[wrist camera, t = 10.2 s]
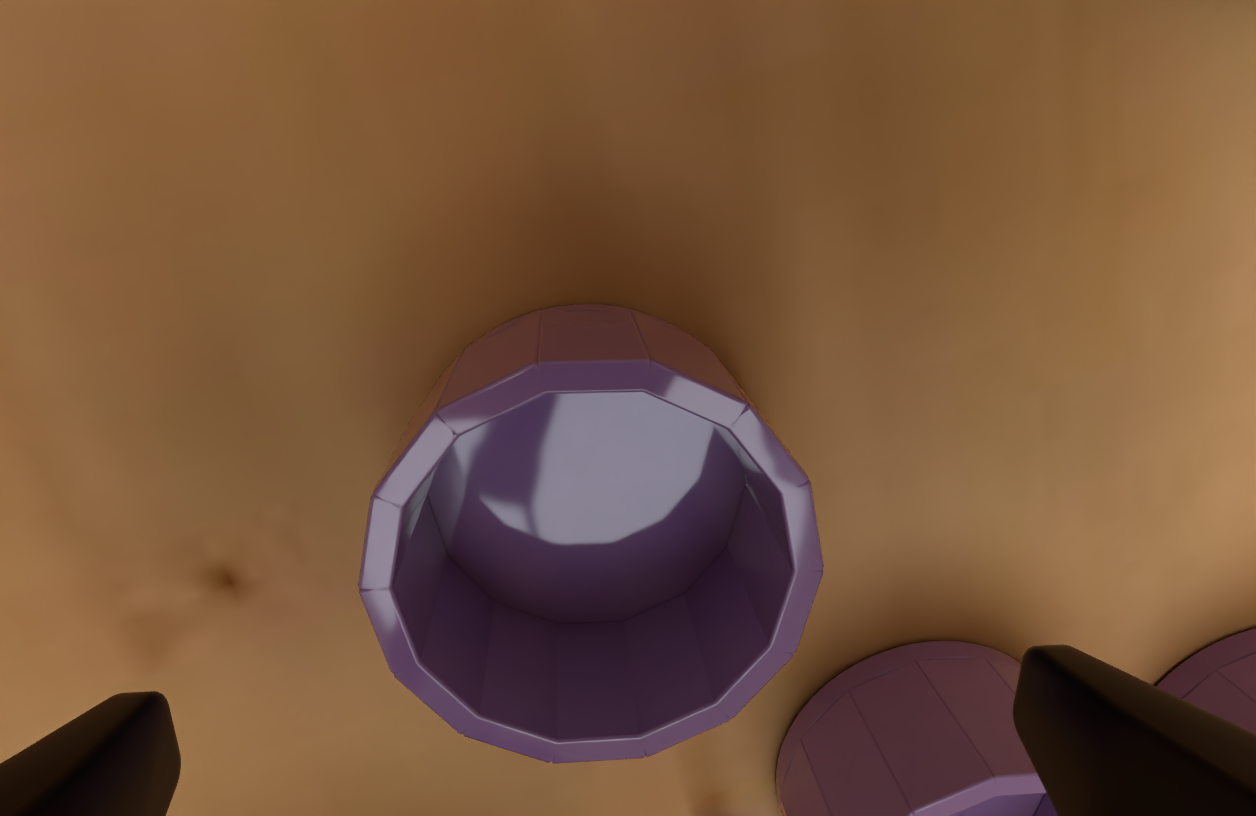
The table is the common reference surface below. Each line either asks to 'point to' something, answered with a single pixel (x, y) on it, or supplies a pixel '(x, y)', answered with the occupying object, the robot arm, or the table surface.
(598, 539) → the dish
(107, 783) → the robot arm
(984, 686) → the dish
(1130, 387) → the table surface
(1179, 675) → the dish
